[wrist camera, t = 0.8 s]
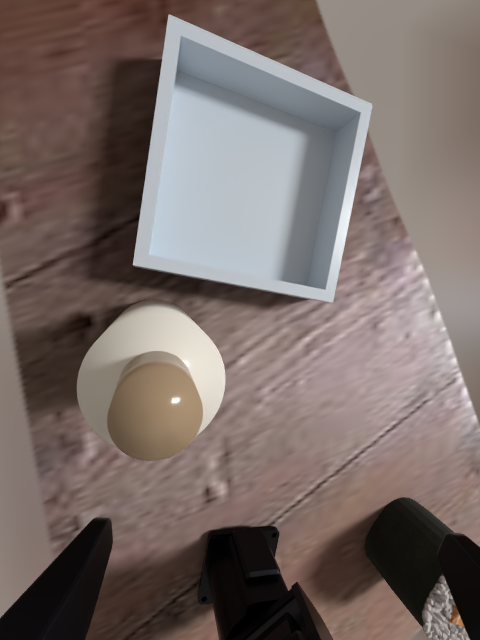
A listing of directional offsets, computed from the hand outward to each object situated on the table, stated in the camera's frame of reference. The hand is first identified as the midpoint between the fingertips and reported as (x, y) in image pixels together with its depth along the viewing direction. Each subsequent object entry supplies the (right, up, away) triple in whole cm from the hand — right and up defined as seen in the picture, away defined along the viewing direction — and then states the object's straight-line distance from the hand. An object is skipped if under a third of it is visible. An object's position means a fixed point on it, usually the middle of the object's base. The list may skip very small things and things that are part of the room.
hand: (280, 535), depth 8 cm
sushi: (+16, -17, +24) cm, 34 cm away
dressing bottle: (-7, +4, +14) cm, 17 cm away
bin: (-1, +15, +15) cm, 21 cm away
